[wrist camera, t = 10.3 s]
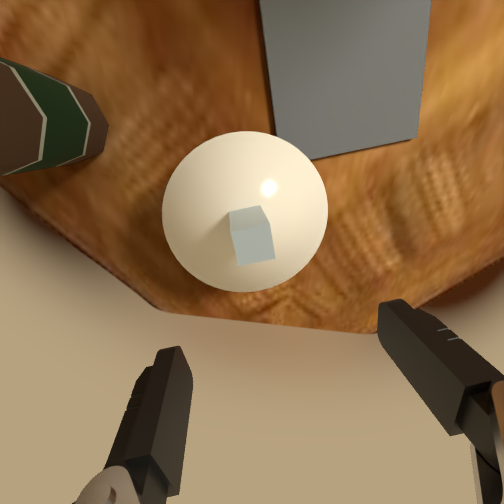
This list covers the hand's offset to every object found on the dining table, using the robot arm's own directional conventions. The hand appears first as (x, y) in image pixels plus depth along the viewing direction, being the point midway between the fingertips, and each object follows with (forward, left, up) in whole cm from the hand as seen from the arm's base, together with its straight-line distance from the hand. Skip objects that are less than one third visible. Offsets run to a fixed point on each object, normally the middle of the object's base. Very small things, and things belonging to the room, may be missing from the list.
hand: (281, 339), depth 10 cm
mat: (-14, -12, -24) cm, 30 cm away
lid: (0, 0, -16) cm, 16 cm away
